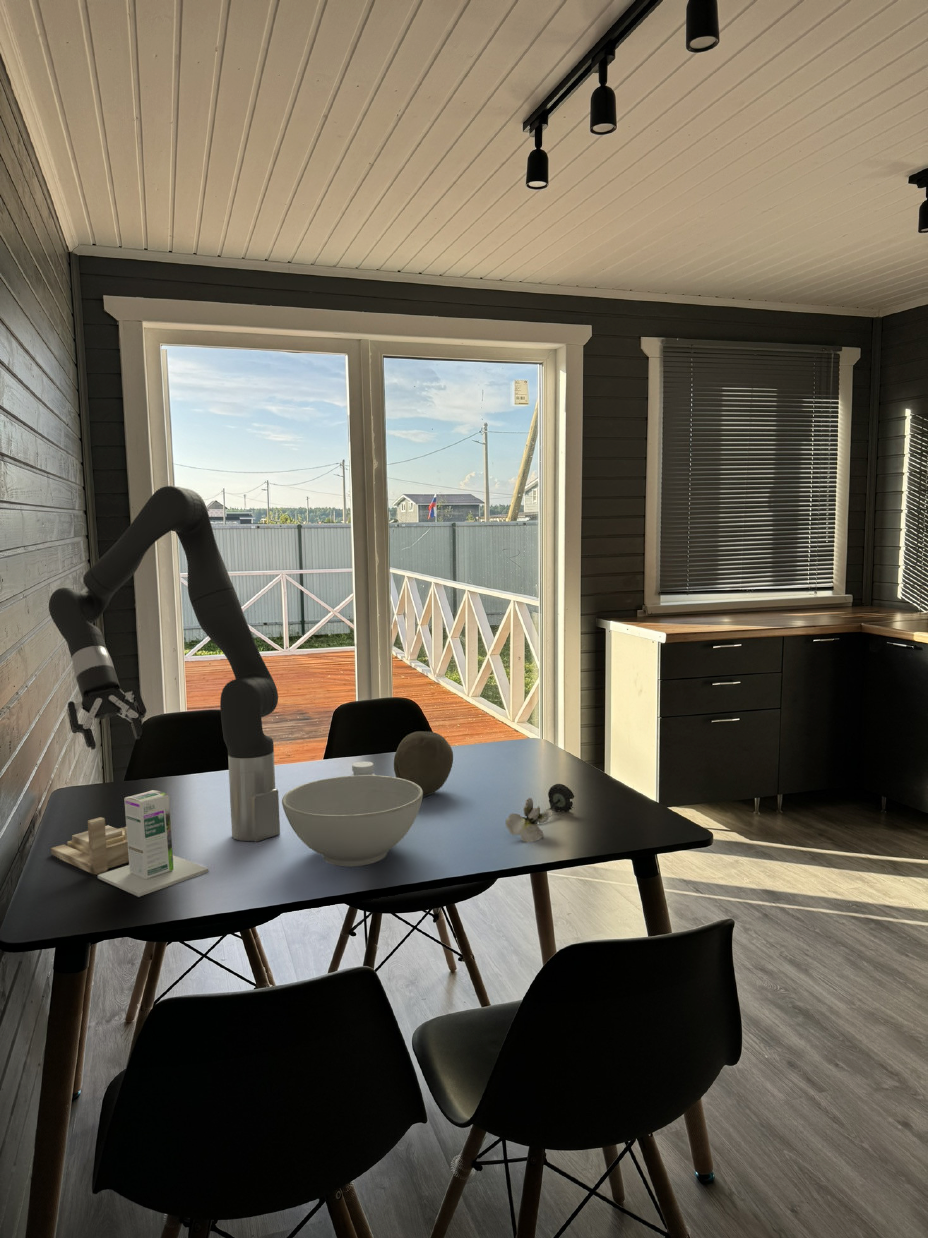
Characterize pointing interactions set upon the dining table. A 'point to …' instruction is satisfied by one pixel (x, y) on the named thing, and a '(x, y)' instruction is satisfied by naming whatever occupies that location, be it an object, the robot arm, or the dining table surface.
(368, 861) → the decorative bowl
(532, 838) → the artificial flower
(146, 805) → the syrup box
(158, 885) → the grey mat
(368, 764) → the pill bottle
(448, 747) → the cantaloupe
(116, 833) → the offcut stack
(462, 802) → the dining table surface
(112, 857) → the birch rack
